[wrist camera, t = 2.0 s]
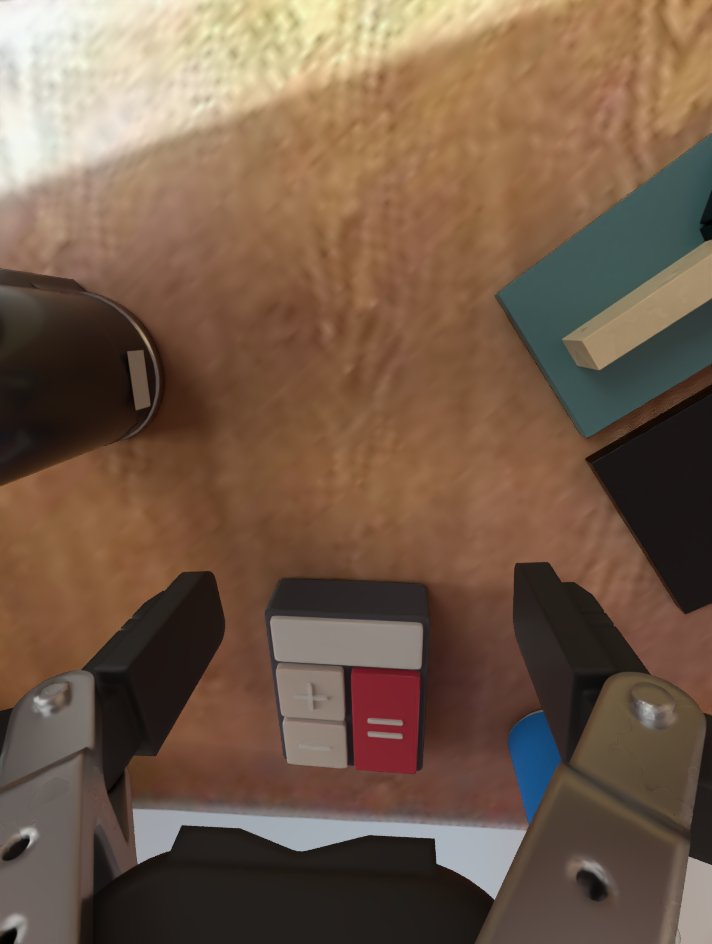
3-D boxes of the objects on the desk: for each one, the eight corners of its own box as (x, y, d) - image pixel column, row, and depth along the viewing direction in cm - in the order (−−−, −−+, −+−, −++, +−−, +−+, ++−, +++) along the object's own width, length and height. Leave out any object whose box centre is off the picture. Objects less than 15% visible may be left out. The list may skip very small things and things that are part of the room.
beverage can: (539, 773, 35) (607, 986, 24) (488, 728, 34) (533, 928, 22) (607, 737, 33) (716, 950, 22) (555, 688, 32) (641, 885, 21)
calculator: (280, 770, 32) (259, 617, 27) (293, 720, 36) (277, 577, 31) (423, 783, 31) (431, 625, 26) (420, 729, 35) (427, 582, 30)
